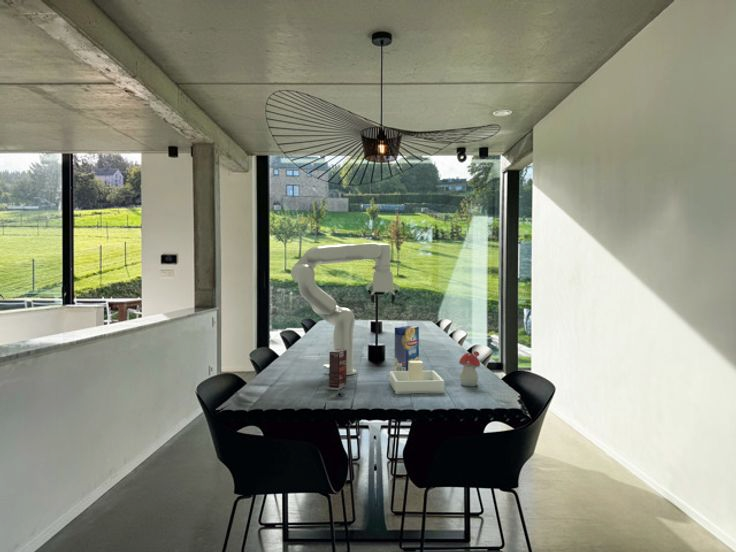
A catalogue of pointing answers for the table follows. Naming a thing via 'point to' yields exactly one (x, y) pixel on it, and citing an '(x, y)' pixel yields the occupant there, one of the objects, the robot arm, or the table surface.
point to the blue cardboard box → (406, 346)
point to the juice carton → (415, 371)
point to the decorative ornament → (469, 369)
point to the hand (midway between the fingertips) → (382, 302)
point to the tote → (416, 383)
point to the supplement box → (337, 369)
